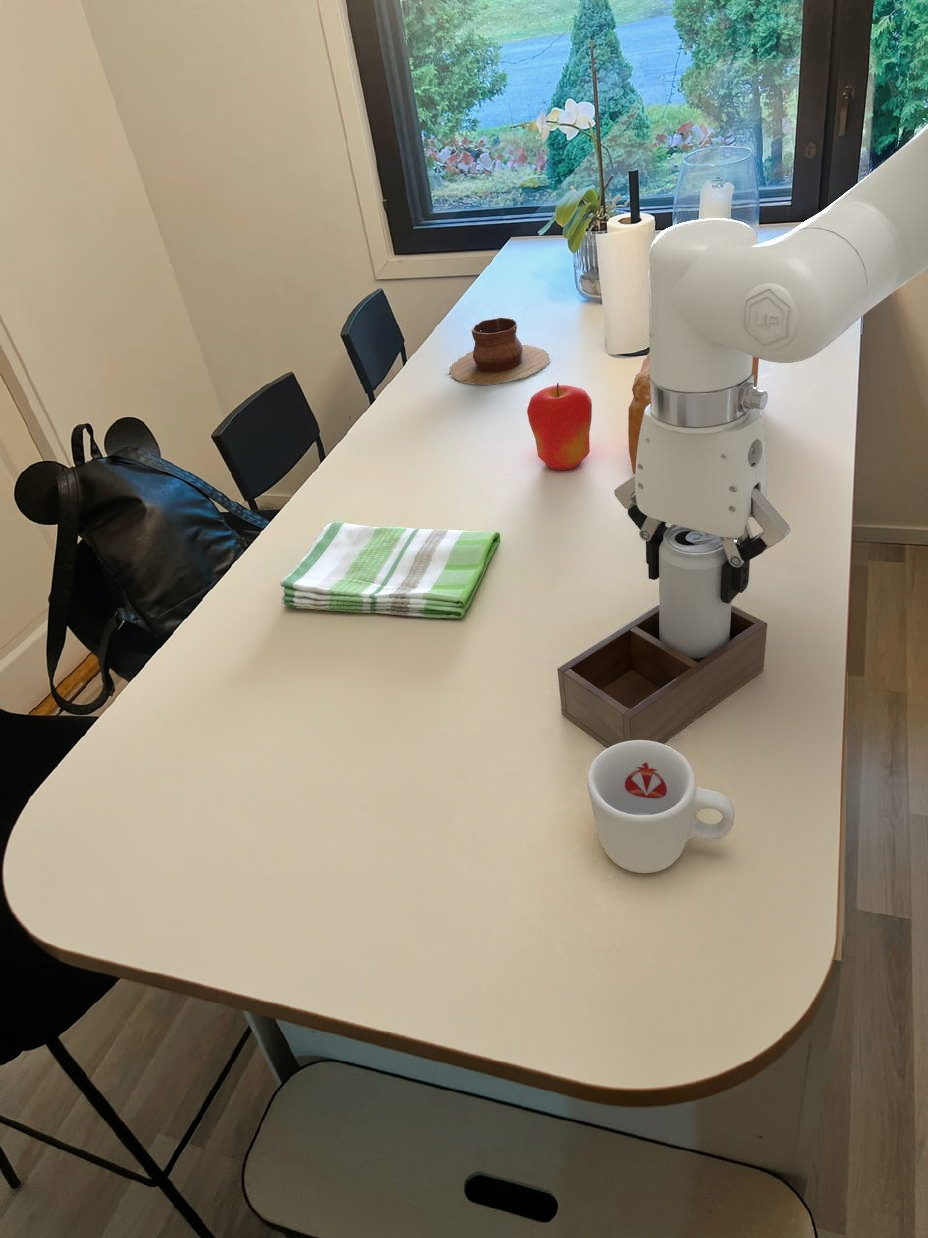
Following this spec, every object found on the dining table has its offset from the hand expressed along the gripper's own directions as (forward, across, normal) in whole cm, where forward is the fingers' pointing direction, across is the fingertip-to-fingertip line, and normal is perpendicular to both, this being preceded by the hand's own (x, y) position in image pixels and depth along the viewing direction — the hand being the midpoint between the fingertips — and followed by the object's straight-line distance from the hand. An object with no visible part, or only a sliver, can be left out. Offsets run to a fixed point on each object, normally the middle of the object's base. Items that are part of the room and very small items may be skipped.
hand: (695, 581), depth 78 cm
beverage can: (+7, 0, 0) cm, 7 cm away
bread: (+11, +23, -43) cm, 50 cm away
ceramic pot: (+11, +68, -54) cm, 87 cm away
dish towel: (+11, +39, +3) cm, 40 cm away
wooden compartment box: (+11, +1, +4) cm, 12 cm away
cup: (+11, -8, +20) cm, 24 cm away
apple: (+11, +36, -30) cm, 48 cm away
